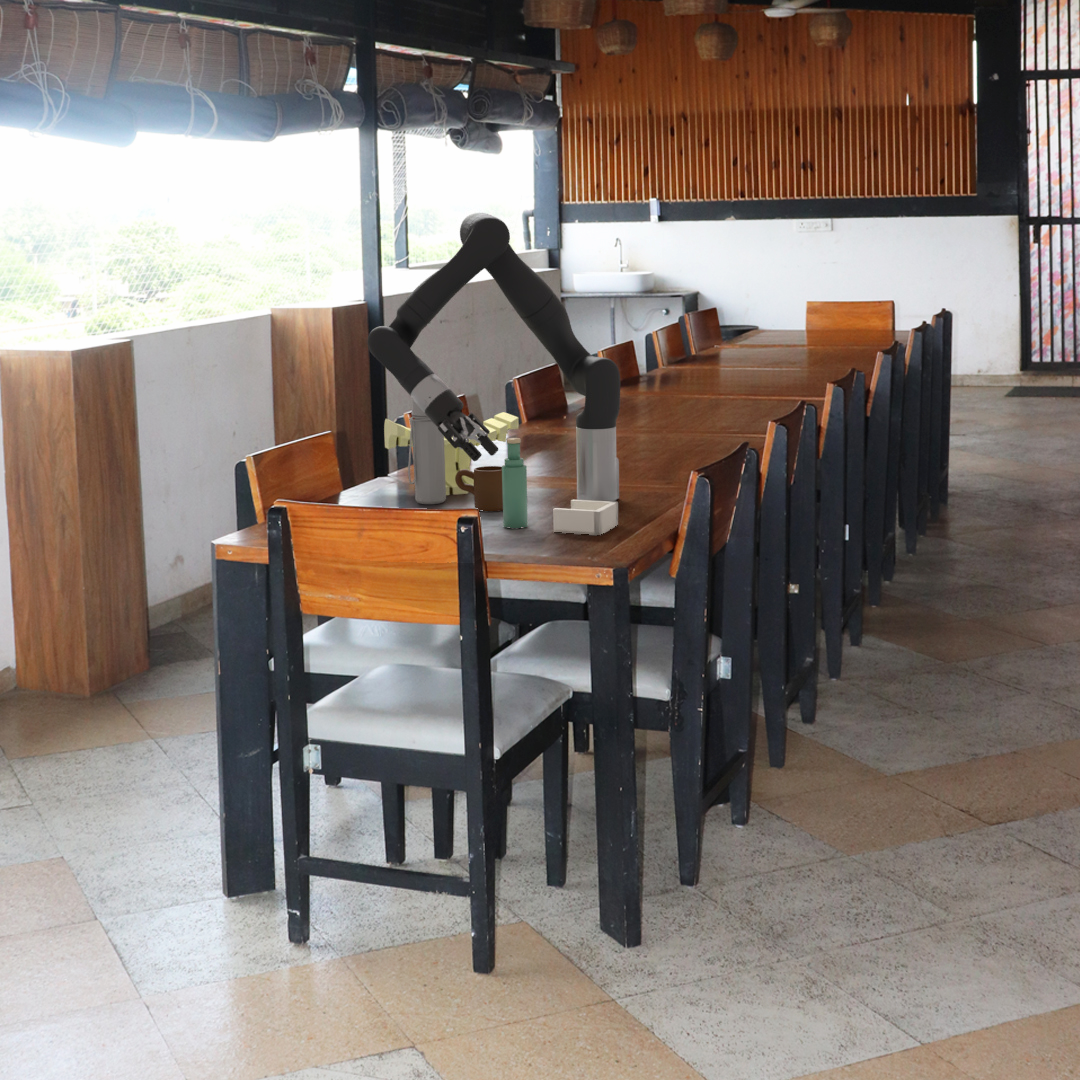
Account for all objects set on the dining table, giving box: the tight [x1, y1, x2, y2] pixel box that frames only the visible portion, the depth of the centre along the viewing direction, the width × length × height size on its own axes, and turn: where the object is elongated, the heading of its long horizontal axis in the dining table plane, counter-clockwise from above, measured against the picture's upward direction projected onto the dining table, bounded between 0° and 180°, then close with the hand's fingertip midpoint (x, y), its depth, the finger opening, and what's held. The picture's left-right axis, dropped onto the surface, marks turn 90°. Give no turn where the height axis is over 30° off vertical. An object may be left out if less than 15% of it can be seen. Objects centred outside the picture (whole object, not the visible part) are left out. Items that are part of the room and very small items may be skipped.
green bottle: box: [501, 437, 529, 528], centre depth 287 cm, size 5×5×19 cm
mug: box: [455, 465, 503, 512], centre depth 308 cm, size 12×8×9 cm, turn 79°
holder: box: [552, 499, 619, 536], centre depth 284 cm, size 10×11×5 cm
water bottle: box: [407, 397, 447, 505], centre depth 316 cm, size 9×8×25 cm
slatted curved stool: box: [383, 411, 520, 496], centre depth 334 cm, size 30×16×18 cm, turn 108°
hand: (487, 455), depth 288 cm, fingers open, 8 cm apart
